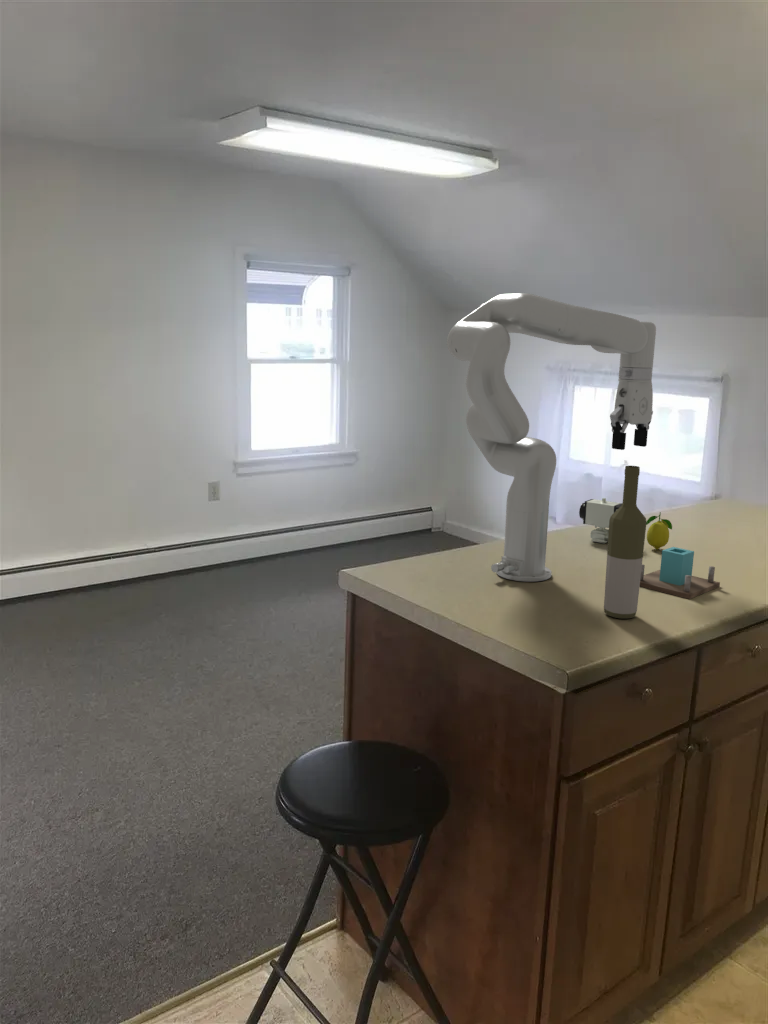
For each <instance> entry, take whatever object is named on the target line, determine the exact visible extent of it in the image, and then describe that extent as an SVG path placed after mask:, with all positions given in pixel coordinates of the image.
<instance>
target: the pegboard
mask: <svg viewBox="0 0 768 1024" xmlns="http://www.w3.org/2000/svg"><path fill="white" fill-rule="evenodd" d="M715 571H716V567H715V566H713V565H712V566H711V565H710V566H709V567H708V573H707V574H708V575H707V576H708V577H707V578H703V577H700V576H695V575H692V577H691V576H690V575H685V584H683V585H681V586H679V585H675V584H671V583H667V582H663V581H659V578H660V569H658V570H655V571H652V572H649V573H647V574H645V564H643V563H642V569H641V578H640V587H641V588H645V589H649V590H653V591H656V592H661V593H665V594H667V595H673V596H676V597H680V598H683V599H688V600H691V599H693V598H695V597H697V596H700V595H703V594H705V593H707V592H710V591H713V590H715V589H718V588H719V587H720V585H721V582H720V581H717V580H715Z"/></svg>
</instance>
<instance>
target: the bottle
mask: <svg viewBox="0 0 768 1024" xmlns="http://www.w3.org/2000/svg"><path fill="white" fill-rule="evenodd" d="M624 468H625V469H624V483H623V493H622V502H621V503H622V505H621V507H620V508H619V509H618V510H617V511H615V512H614V513H613V514H612V515H611V517H610V520H609V528H608V529H609V534H608V542H607V549H606V551H607V552H606V553H607V554H606V568H605V583H604V600H603V611H604V613H605V614H606V615H607V616H609V617H612V618H615V619H621V620H623V619H626V620H627V619H631V618H635V617H636V614H637V611H638V606H639V605H638V603H639V594H640V587H641V586H640V578H641V569H642V564H643V560H644V549H645V539H646V530H647V525H646V523H647V518H646V516H645V515H644V514H643V512H642V511H641V510H640V509H639V508H638V506H637V498H638V489H639V488H638V487H639V476H640V473H641V472H640V471H641V470H640V468H641V467H640V466H637V465H625V467H624Z"/></svg>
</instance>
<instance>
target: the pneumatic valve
mask: <svg viewBox="0 0 768 1024" xmlns="http://www.w3.org/2000/svg"><path fill="white" fill-rule="evenodd" d="M622 503H623V502H616V501H615V502H614V501H608V500H607V498H606V497H602V499H595V498H591V499H588V500H585V501H584V502H582V503H581V504H580V507H579V512H578V513H579V514H578V516H579V518H580V519H582V521H583V522H582V524H583V525H587V526H594V528H595V529H592V530H591V531H590V535H589V536H590V539H591V542H592V543H598V544H602V545H604V544H606V543H608V534H609V520H610V517H611V515H612V514H613V513H614V512H615V511H617V510H618V509H619V508H620V507H621V505H622Z"/></svg>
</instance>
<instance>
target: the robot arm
mask: <svg viewBox="0 0 768 1024" xmlns="http://www.w3.org/2000/svg"><path fill="white" fill-rule="evenodd" d="M511 333H512V334H520V335H521V334H522V335H526V336H529V337H534V338H538V339H543V340H547V341H551V342H555V343H558V344H562V345H571V346H591V348H592V349H593V350H595V351H596V352H599V353H602V354H603V353H604V354H620V357H619V367H618V368H619V369H618V384H617V388H616V393H615V400H614V401H615V402H614V408H613V409H614V410H613V411H612V412H611V413H610V415H609V418H610V426H611V432H612V437H611V439H612V440H611V449H613V450H621V451H624V450H625V449H626V441H627V440H626V439H627V438H626V437H627V432H626V430H627V427H628V426H629V425H632V426H633V425H635V427H636V428H635V429H634V435H633V445H634V446H636V447H645V448H646V446H647V443H648V432H649V429H650V424H651V422H652V419H653V414H654V411H653V406H654V405H653V401H654V397H653V396H654V394H653V391H654V390H653V383H652V379H653V371H654V369H653V368H654V359H655V358H654V357H655V345H656V335H657V326H656V324H655V323H654V322H651V321H640V320H638V319H636V318H632V317H628V316H625V315H621V314H617V313H613V312H608V311H602V310H598V309H592V308H588V307H585V306H584V307H583V306H579V305H574V304H569V303H566V302H562V301H559V300H555V299H550V298H547V297H544V296H541V295H536V294H532V293H527V292H517V293H516V292H515V293H512V292H511V293H501V294H498V295H496V296H494V297H492V298H491V299H489V300H488V301H486V302H484V303H482V304H481V305H479V307H478V308H476V309H474V310H473V311H472V312H470V313H469V314H467V315H466V316H464V317H463V318H461V319H460V320H459V321H457V322H456V323H455V324H454V325H453V326H452V327H451V329H450V330H449V332H448V335H447V338H446V340H447V341H446V345H447V349H448V352H449V353H450V355H452V357H454V358H455V359H457V360H458V361H462V362H469V365H468V370H467V374H466V383H465V385H466V392H467V395H468V396H469V399H470V401H471V405H470V406H469V407H468V409H467V412H466V419H465V420H466V421H465V422H466V427H467V430H468V433H469V435H470V437H471V438H472V439H473V442H474V443H475V444H476V446H477V447H478V448H479V450H480V452H481V453H482V455H483V457H484V458H485V459H486V461H487V462H488V464H489V465H490V466H491V467H492V468H493V470H494V471H496V472H498V473H500V474H503V475H506V476H510V477H513V480H512V482H511V485H510V487H509V489H508V492H507V496H506V506H505V507H506V509H505V511H506V512H505V525H504V527H505V528H504V543H503V544H504V546H503V548H504V549H503V556H501V560H500V561H499V562H496V563H493V564H492V565H491V566H490V567H491V568H490V569H491V571H492V572H493V573H496V574H497V575H498V576H499V577H501V578H503V579H507V580H511V581H515V582H528V583H530V582H531V583H532V582H543V581H546V580H548V579H550V578H551V577H552V573H553V571H552V570H551V569H550V568H549V567H547V566H546V560H547V559H546V557H547V542H548V540H547V539H548V528H549V527H548V526H549V515H550V514H549V512H550V496H551V488H552V483H553V480H554V475H555V472H556V468H557V455H556V452H555V449H554V448H553V447H552V446H551V444H549V443H548V442H546V441H544V440H542V439H539V438H536V437H530V436H528V434H529V431H530V422H529V418H528V416H527V414H526V412H525V410H524V409H523V407H522V406H521V404H520V402H519V400H518V398H517V396H516V395H515V394H514V392H513V390H512V389H511V386H510V385H509V383H508V381H507V379H506V376H505V367H506V361H507V358H508V356H509V353H510V349H511V336H510V334H511Z"/></svg>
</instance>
